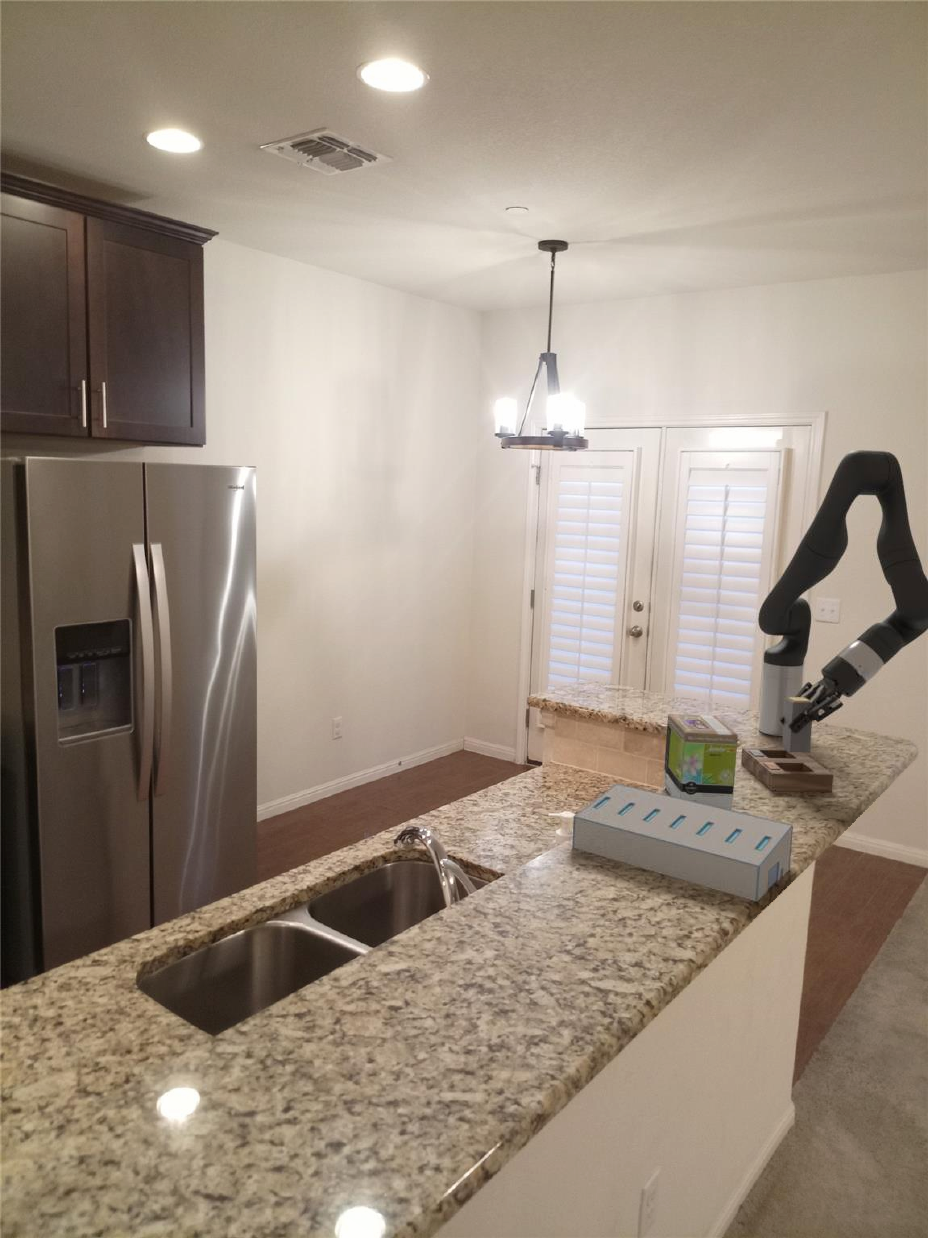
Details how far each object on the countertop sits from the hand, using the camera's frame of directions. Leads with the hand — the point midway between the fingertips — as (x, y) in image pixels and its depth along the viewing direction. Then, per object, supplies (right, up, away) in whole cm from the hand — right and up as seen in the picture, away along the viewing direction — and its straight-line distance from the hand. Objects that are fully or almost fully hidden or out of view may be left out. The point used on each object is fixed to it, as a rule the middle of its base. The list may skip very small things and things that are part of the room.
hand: (787, 727), depth 177 cm
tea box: (-20, -13, -8) cm, 25 cm away
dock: (+2, -11, +6) cm, 13 cm away
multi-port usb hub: (-31, -17, -37) cm, 51 cm away
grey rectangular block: (+2, -5, +1) cm, 5 cm away
